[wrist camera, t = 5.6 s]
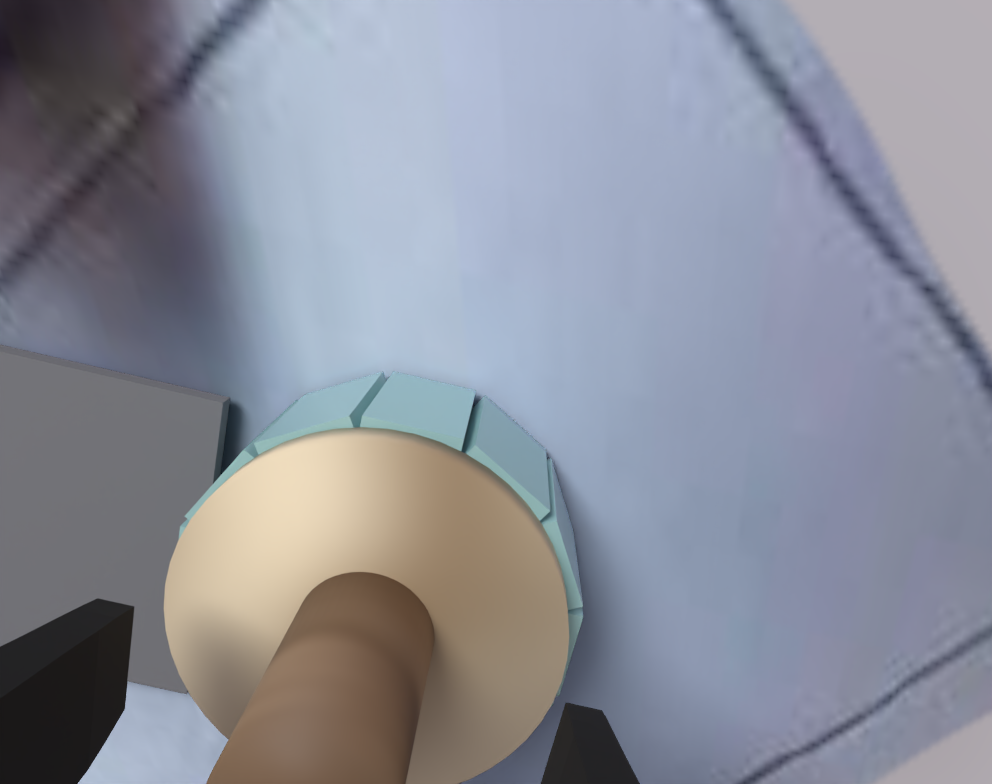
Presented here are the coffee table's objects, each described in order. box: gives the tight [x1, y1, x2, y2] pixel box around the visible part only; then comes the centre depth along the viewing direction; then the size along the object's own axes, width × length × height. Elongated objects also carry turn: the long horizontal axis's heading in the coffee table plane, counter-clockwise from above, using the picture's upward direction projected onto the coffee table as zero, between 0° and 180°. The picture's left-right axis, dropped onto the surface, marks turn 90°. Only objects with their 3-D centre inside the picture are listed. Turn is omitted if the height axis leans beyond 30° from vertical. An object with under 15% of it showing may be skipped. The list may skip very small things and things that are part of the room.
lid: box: [164, 427, 569, 784], centre depth 12 cm, size 8×8×5 cm
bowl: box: [179, 371, 583, 706], centre depth 16 cm, size 8×8×3 cm
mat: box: [0, 345, 230, 694], centre depth 17 cm, size 8×8×1 cm
